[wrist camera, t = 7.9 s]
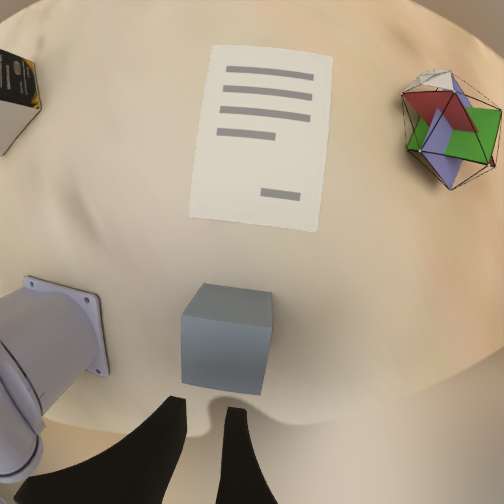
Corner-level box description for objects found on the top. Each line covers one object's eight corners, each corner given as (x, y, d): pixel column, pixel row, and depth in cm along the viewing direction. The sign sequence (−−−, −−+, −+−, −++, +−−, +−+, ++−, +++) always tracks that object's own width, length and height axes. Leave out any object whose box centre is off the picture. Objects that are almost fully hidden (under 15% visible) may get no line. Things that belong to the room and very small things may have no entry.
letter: (188, 216, 17) (188, 217, 17) (213, 46, 14) (212, 45, 14) (316, 232, 17) (316, 232, 17) (332, 57, 14) (332, 57, 14)
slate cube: (200, 340, 19) (181, 382, 14) (203, 283, 18) (181, 314, 13) (262, 349, 19) (260, 395, 14) (271, 292, 18) (272, 328, 13)
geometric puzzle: (500, 144, 12) (520, 78, 6) (475, 220, 14) (503, 177, 7) (423, 106, 16) (408, 35, 10) (393, 173, 18) (371, 114, 11)
